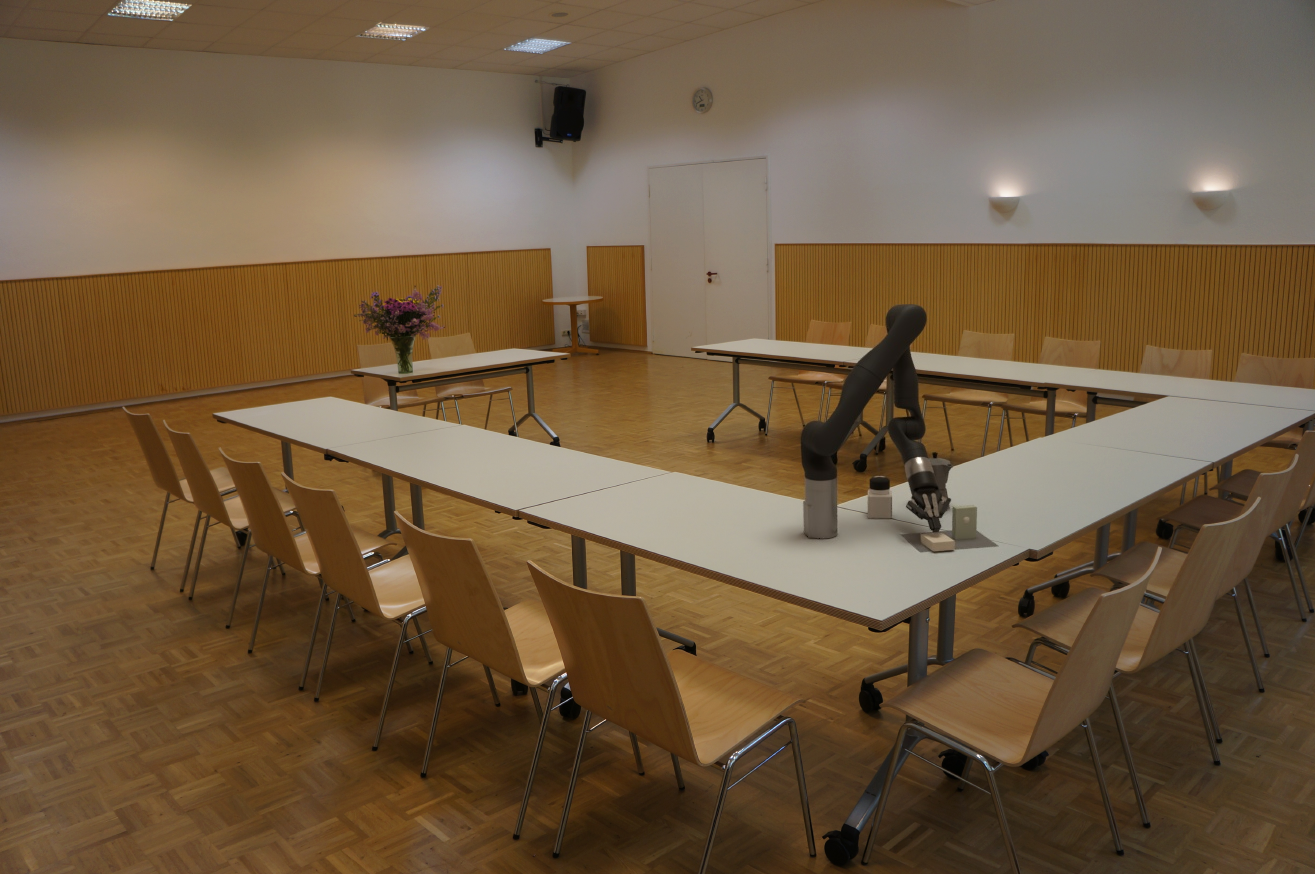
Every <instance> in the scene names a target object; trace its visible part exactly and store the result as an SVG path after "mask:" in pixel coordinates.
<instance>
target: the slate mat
mask: <svg viewBox="0 0 1315 874" xmlns="http://www.w3.org/2000/svg"><path fill="white" fill-rule="evenodd" d="M931 533H933V532H932V531H925V532H924V531H923V532H913V533H912V532H911V533H900V534H899V535H900V536H901V537H902V538H903V539H905V541H907V542H908V543H909V544H910V545H911V546H912V547H914V548H915V549H916V550H917V551H918V552H919V553H930V552H931V553H932V552H933V551H932V550H931V549H929V548H928V547H926V546H925V545H923V544H922V543H921V534H931ZM934 533H943V534H945V535H946V536H948V537H949V538H951V539H952V540H954V541H955V550H954V551H957V550H968V549H969V550H970V549H980V548H982V549H983V548H995V547H996V548H997V547H999V545H998V544H997V543H995V542H994V541H993V540H991V539H990V538H988V537H987V536H986V535H984V534H983V533H981V532H980V531H978V530H977V529H976V538H972V539H959V540H955V539H954V538H953V537H952V530H941V531H940V530H939V532H934Z"/></svg>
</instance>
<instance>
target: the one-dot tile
mask: <svg viewBox="0 0 1315 874" xmlns="http://www.w3.org/2000/svg"><path fill="white" fill-rule="evenodd" d="M977 518H978V506H976V505H975V504H968V505H966V504H965V505H954V506H953V505H952V522H951V523H952V525H951V527H952V537H953V538H954V539H955V540H959V539H972V538H976V530H977V527H978V526H977V525H978V521H977Z"/></svg>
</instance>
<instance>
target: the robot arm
mask: <svg viewBox="0 0 1315 874" xmlns="http://www.w3.org/2000/svg"><path fill="white" fill-rule="evenodd" d="M927 317H928V314H927V312H926V310H925V308H923V307H922V306H920V305H918V304H914V303H913V304H912V303H907V304H901V303H900V304H896V305H893V306H891V307H890V308H889V309H888V311H887V313H886V316H885V328H886V335H885V336H884V338H883V339H882V340H881V341H880V342H878V344H876V345H875V346H874V347H873V348H871V350H869V351H868V352H867V353H866V354H865V355H863V356H862V357H861V358H860V359H859V360H858V361H857V362H856V363H855V365H854V366H853V367H852V369H851V371H850V372H849V373H848V374H847V376H846V377H845V379H844V381H843V384H842V386H841V387H842V388H841V392H840V396H839V397H840V398H839V401H838V403H837V406H836V408H835V409H834V411H833V412H832V413H831V414H830V416H829V418H828V419H827V420H826V421H825V422H824V421H821V420H812V421H808V422H807V424H806V423H805V425H804V427H803V428H802V430H801V433H800V454H801V455H800V456H801V465H802V466H801V467H802V469H803V472H804V500H803V503H802V504H803V505H802V507H803V508H802V511H803V514H802V515H803V516H802V517H803V520H802V521H803V533H804V534H805V535H806V537H807V536H808V537H807V539H819V538H820V540H821V539H832V538H834V537H836V536H837V535H838V528H839V526H838V468H837V466H836V465H835V463H834V462H833V460H832V458H831V456H832V455H834V454H836V453H837V451H839V450H840V448H841V447H842V445H843V443H844V442H845V440H846V439H847V436H848V435H849V433H850V432H851V429H852V428H853V426H854V423H855V422H856V421H857V420H858V418H859V417H860V415H861V414H862V412H863V411H864V409H865V408H866V406H867V405H868V404H869V402H870V400H871V399H872V398H873V396H874V395H875V394H876V393H877V391H878V390H879V388H880V387H881V386H882V385H883V382H884V381H885V380H886V378H887V377H888V375H889V374H890V373H891V371H892V374H893V377H892V378H893V404H894V407H895V408H896V409H900V410H907V411H908V412H909V413H910V415H909V416H897V417H893V418H891V419H890V420H889V422H888V424H887V433H888V436H889V437H890V439H891V441H892V443H893V444H894V446H895V447H896V448H897V451H898V452H899V453H900V455H901V459H902V461H903V465H904V471H905V477H906V480H907V483H908V487H909V490H910V493H911V497H910V499H911V500H908V501H907V503H906V505H905V508H906V510H909V511H910V512H911V513H912V514H913V515H915V516H916V517H917V518H918V519H920V520H926V521H927V524H928V528H929V530H930V532H933V533H934V532H939V531H940V530H941V528H942V524H941V521H940V519H943V516H944V515H945V513H946V512H947V511H946V509H947V507H948V506H950V503H951V502H952V498H950V497H948V498H945V497H943V496H942V494H941V492H940V491H939V489H938V485H937V481H936V478H935V475H934V471H933V468H932V465H931V463H930V461H929V455H928V452H927V449H926V446H925V445H924V443H922V442H921V441H919V440H921V439H923V438H924V436H925V435H926V431H927V430H926V422H925V421H924V420H925V419H924V417H923V413H922V411H921V406H920V399H919V398H920V397H919V396H920V395H919V393H920V392H919V378H918V374H917V372H918V371H917V370H916V366H915V364H914V360H913V358H912V353H911V345H912V344H913V342H914V341H915V340H916V339H917V338H918V337H919V336H920V334H921V333H922V332H923V331H924V329H925V327H926V324H927V322H928V319H927ZM940 500H941V504H942V506H943V507H942V509H941V511H940V512H938V504H939V502H940ZM919 507H920V508H919Z"/></svg>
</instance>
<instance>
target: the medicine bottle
mask: <svg viewBox="0 0 1315 874" xmlns="http://www.w3.org/2000/svg"><path fill="white" fill-rule="evenodd" d="M892 518H893V495H892V490H891V480H890V478H889V477H887V476H882V475H880V476H879V475H876V476H872V477H870V478H869V489H868V490H867V519H892Z"/></svg>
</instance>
